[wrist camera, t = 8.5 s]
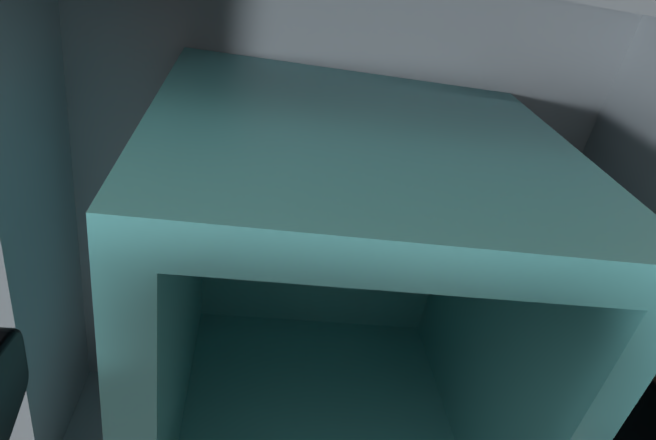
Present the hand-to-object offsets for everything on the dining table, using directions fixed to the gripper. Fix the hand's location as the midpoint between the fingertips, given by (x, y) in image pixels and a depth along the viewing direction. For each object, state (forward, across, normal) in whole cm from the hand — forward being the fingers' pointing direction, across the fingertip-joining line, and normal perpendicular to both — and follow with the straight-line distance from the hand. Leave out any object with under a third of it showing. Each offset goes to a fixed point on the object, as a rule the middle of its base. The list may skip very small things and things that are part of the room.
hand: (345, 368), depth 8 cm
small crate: (+5, 0, 0) cm, 5 cm away
